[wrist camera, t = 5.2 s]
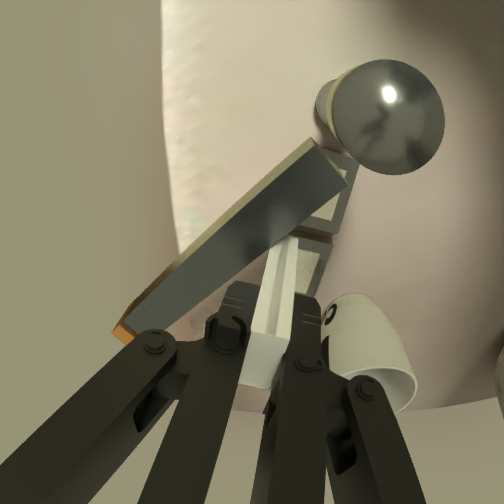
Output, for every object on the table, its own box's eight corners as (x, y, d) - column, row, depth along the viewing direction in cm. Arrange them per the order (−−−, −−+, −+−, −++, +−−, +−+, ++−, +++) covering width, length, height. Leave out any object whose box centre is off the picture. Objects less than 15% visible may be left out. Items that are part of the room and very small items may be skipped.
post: (322, 72, 18) (340, 59, 11) (376, 88, 18) (420, 88, 11) (310, 123, 20) (320, 140, 13) (363, 138, 20) (399, 164, 13)
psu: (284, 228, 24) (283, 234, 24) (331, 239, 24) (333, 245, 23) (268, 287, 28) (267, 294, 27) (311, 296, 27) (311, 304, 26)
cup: (313, 277, 26) (318, 366, 18) (400, 280, 25) (433, 363, 17) (306, 342, 30) (304, 426, 22) (380, 343, 29) (397, 423, 21)
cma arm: (376, 47, 10) (396, 38, 8) (434, 124, 11) (463, 132, 9) (115, 293, 19) (96, 320, 16) (165, 334, 20) (151, 364, 18)
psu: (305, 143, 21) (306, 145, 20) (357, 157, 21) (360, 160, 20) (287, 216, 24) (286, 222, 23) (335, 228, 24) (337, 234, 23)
